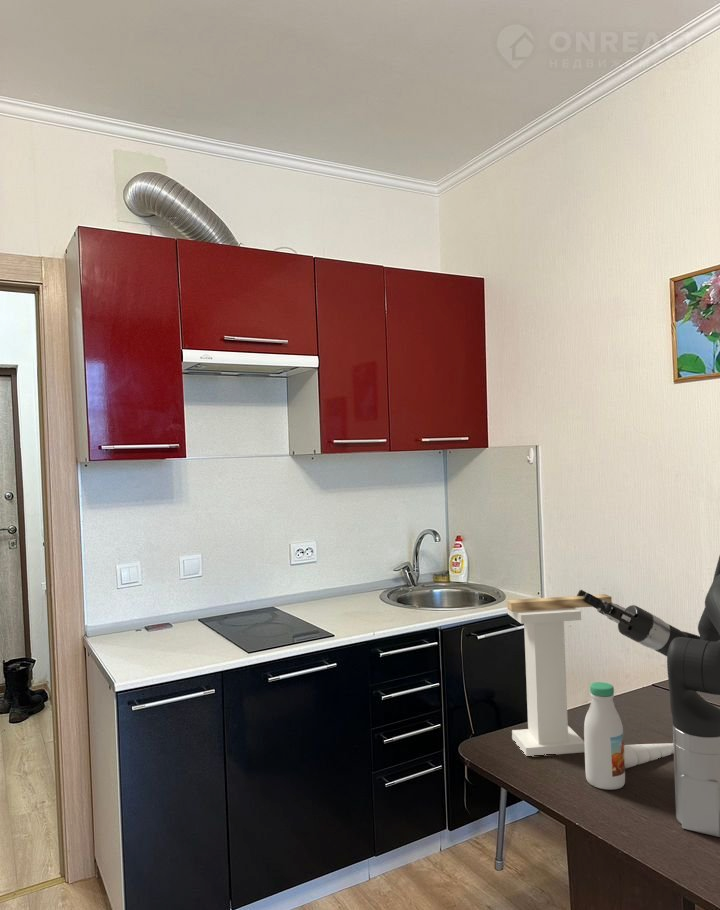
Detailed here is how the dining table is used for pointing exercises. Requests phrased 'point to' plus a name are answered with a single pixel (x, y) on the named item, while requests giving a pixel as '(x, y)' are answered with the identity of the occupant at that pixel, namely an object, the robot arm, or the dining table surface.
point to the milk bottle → (604, 740)
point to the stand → (546, 683)
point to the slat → (552, 603)
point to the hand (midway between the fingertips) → (582, 595)
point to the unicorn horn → (645, 753)
